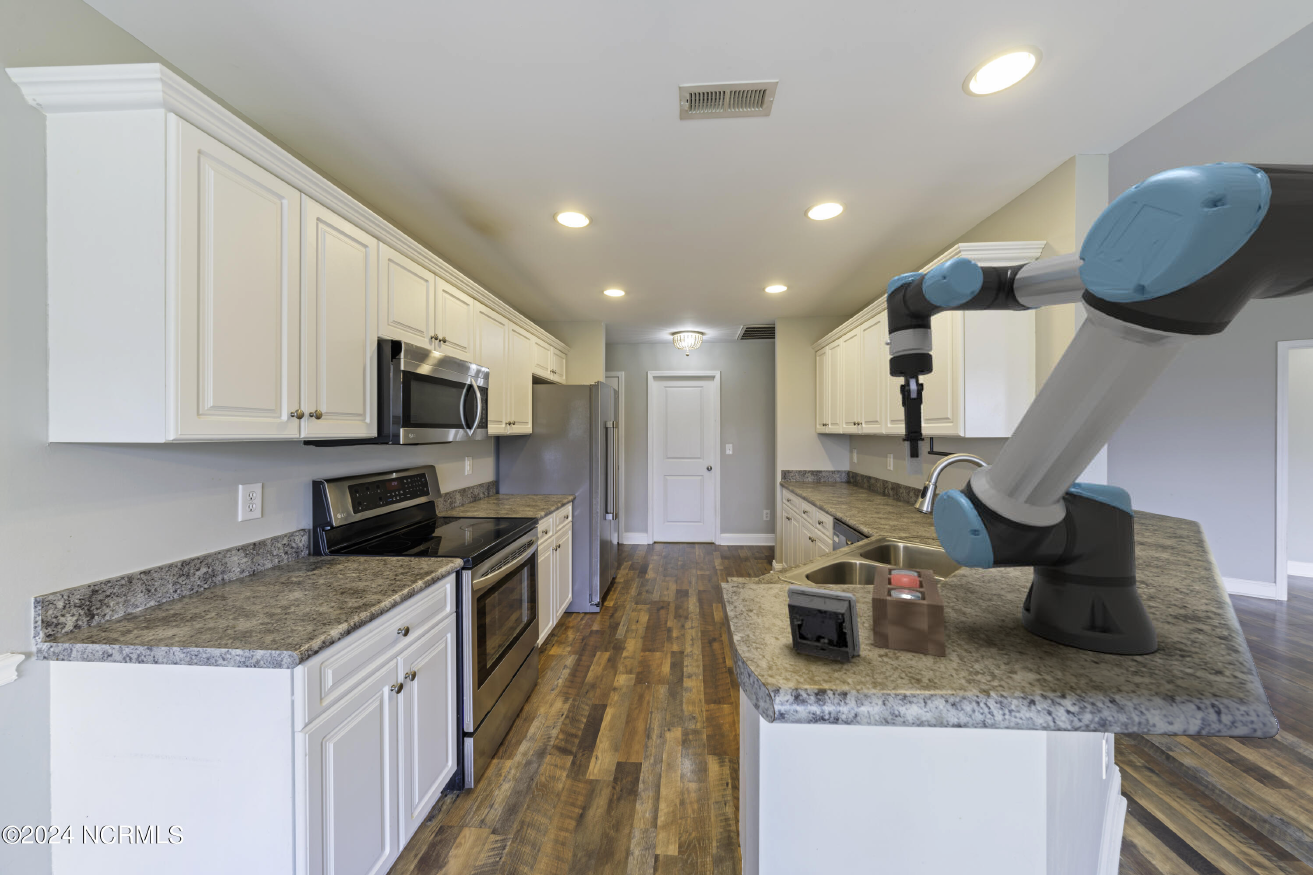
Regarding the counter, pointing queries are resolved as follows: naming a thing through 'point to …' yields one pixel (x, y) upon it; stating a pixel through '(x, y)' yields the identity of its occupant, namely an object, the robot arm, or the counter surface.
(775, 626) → the counter surface
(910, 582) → the red plug
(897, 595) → the metal plug
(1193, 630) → the counter surface
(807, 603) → the electrical switch
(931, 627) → the brown wooden box
